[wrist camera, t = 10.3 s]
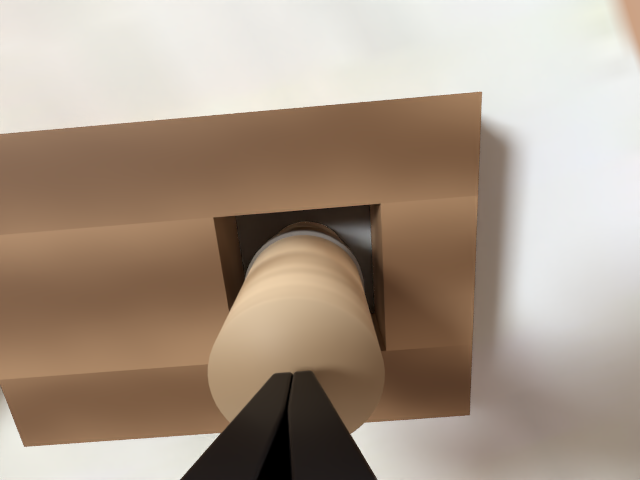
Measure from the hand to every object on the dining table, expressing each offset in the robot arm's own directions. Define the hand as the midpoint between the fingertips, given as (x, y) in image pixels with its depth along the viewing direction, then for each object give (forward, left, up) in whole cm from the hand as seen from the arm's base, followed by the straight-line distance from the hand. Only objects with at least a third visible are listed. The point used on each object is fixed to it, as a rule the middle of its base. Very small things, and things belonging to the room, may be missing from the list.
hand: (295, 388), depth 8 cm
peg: (0, 0, -8) cm, 8 cm away
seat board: (0, +3, -8) cm, 9 cm away
